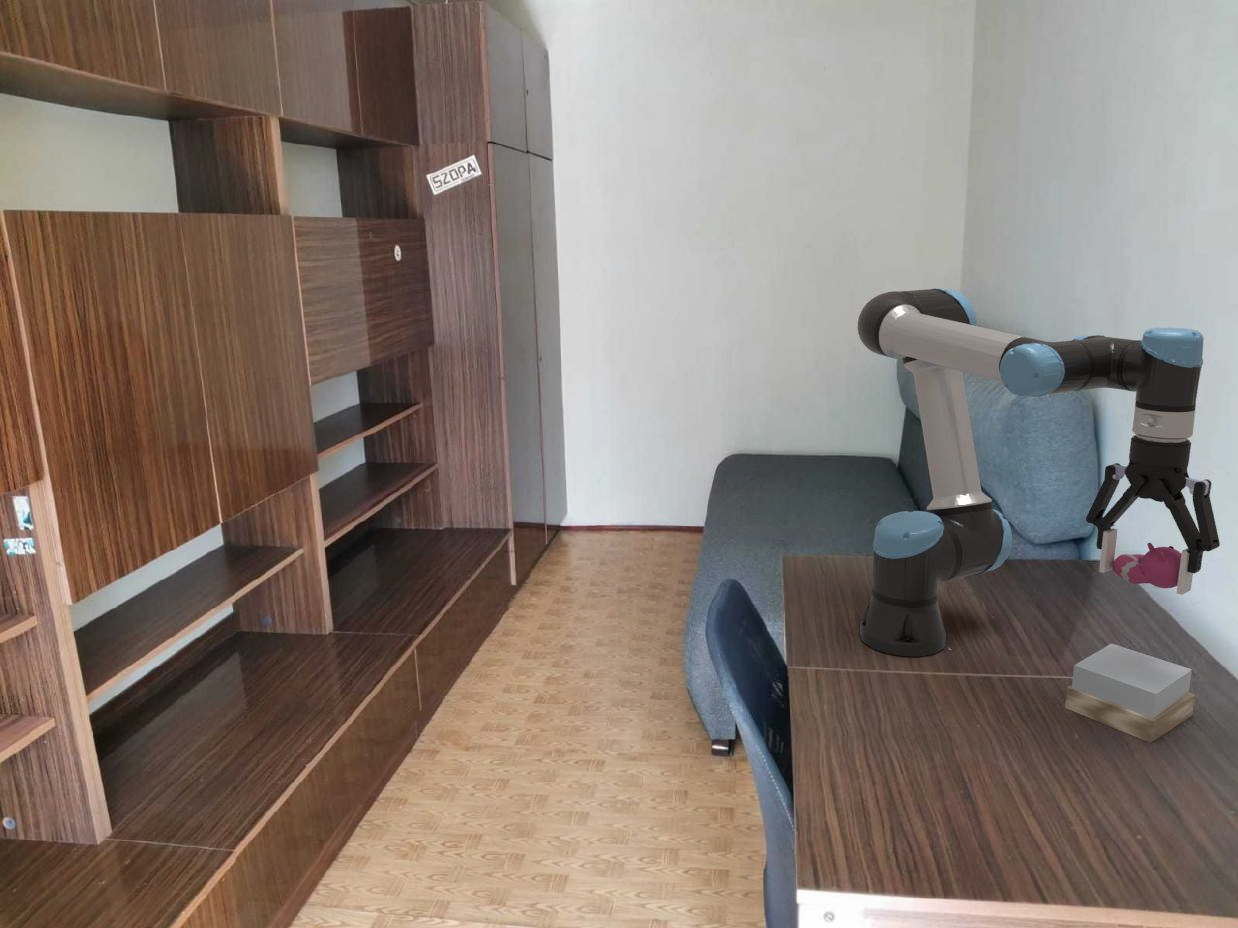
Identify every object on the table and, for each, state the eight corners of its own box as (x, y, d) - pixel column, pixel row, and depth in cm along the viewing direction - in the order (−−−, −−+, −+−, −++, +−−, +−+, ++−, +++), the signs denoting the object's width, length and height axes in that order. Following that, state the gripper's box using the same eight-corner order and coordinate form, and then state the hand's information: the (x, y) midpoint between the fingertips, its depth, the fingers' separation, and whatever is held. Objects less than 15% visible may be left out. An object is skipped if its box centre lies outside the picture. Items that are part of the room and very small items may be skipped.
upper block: (1071, 688, 142) (1074, 665, 141) (1108, 665, 149) (1111, 643, 148) (1153, 718, 133) (1156, 693, 132) (1188, 693, 140) (1192, 669, 139)
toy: (1214, 592, 134) (1191, 543, 130) (1159, 624, 135) (1135, 576, 131) (1164, 556, 144) (1142, 510, 140) (1114, 586, 145) (1090, 541, 142)
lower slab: (1064, 710, 144) (1067, 687, 143) (1107, 686, 151) (1109, 664, 150) (1150, 745, 133) (1153, 721, 132) (1191, 718, 140) (1195, 694, 140)
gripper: (1069, 428, 138) (1056, 565, 144) (1239, 454, 120) (1216, 610, 125) (1095, 421, 143) (1081, 555, 148) (1263, 446, 124) (1240, 597, 130)
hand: (1143, 580), depth 137 cm, fingers closed on toy, 10 cm apart
